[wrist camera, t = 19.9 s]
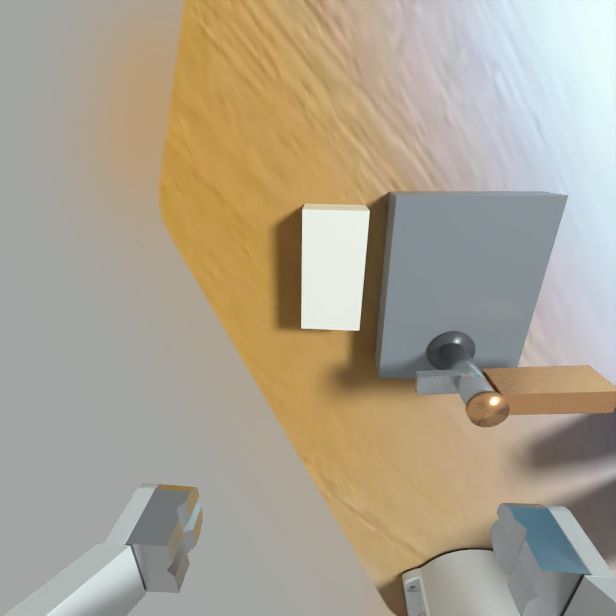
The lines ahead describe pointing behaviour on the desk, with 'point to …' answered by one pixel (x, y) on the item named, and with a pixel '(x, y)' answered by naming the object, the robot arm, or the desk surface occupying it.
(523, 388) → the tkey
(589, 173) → the desk surface
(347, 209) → the cover
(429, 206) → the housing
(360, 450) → the desk surface
